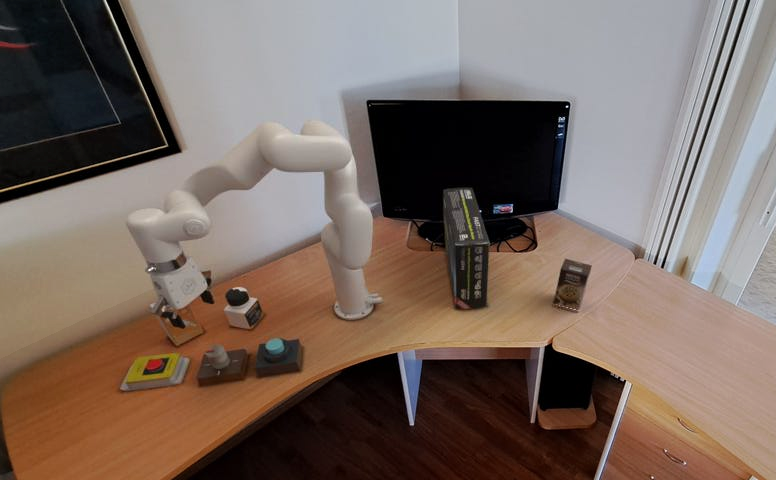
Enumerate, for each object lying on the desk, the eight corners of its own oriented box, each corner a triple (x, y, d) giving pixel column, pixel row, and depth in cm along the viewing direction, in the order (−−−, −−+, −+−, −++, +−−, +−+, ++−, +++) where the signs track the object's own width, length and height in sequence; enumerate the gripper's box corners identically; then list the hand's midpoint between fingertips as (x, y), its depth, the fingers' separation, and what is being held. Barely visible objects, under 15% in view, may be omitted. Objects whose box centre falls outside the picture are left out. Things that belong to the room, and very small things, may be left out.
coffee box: (552, 306, 151) (559, 268, 140) (557, 294, 155) (564, 257, 145) (578, 313, 148) (588, 275, 138) (582, 302, 153) (592, 264, 142)
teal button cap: (285, 342, 127) (283, 337, 125) (283, 353, 123) (281, 348, 122) (268, 344, 126) (266, 339, 124) (266, 356, 123) (264, 351, 121)
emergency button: (174, 373, 118) (111, 381, 116) (181, 384, 121) (119, 391, 119) (184, 348, 125) (125, 355, 123) (190, 358, 128) (133, 365, 126)
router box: (443, 250, 173) (441, 187, 156) (471, 248, 175) (472, 186, 157) (455, 311, 147) (454, 244, 129) (487, 308, 149) (492, 242, 131)
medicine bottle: (251, 330, 137) (238, 301, 130) (230, 326, 138) (217, 297, 131) (264, 314, 143) (253, 286, 135) (244, 311, 144) (232, 282, 136)
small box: (177, 347, 131) (157, 315, 123) (168, 336, 134) (148, 304, 126) (204, 332, 136) (187, 300, 128) (195, 322, 139) (178, 291, 131)
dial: (231, 356, 125) (224, 343, 122) (228, 367, 122) (221, 355, 119) (214, 358, 125) (207, 345, 121) (211, 370, 121) (203, 357, 118)
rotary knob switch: (248, 355, 130) (245, 348, 128) (243, 379, 123) (239, 372, 121) (207, 361, 128) (203, 353, 126) (200, 385, 121) (195, 378, 119)
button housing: (302, 348, 133) (297, 334, 129) (300, 371, 126) (294, 357, 122) (263, 353, 131) (257, 339, 127) (258, 377, 124) (252, 363, 120)
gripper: (148, 286, 96) (180, 341, 107) (208, 244, 108) (231, 297, 120) (121, 278, 97) (155, 333, 108) (183, 238, 110) (208, 291, 121)
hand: (195, 314), depth 114 cm, fingers open, 9 cm apart
